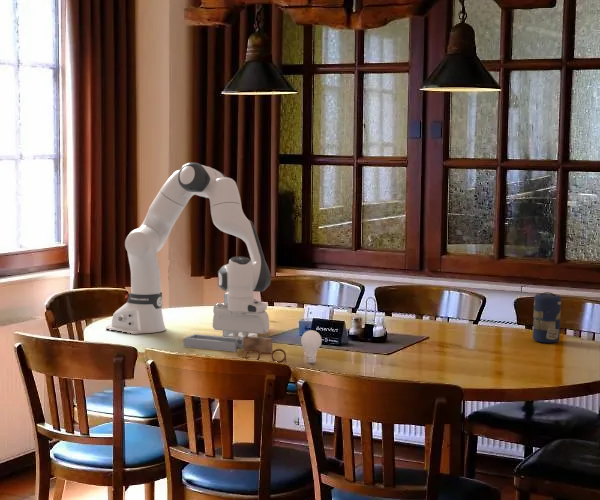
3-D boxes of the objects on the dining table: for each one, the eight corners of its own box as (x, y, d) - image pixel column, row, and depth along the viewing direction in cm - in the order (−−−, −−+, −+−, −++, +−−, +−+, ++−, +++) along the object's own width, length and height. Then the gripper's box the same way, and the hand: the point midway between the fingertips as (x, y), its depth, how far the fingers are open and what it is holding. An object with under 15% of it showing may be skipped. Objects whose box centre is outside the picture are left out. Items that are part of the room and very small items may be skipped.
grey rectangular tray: (183, 346, 357) (183, 338, 357) (194, 342, 364) (194, 334, 364) (235, 351, 349) (235, 343, 349) (245, 347, 357) (245, 338, 356)
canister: (537, 338, 377) (539, 289, 375) (563, 340, 372) (564, 291, 370) (529, 342, 369) (530, 292, 367) (555, 345, 364) (556, 295, 362)
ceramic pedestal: (227, 345, 360) (227, 335, 360) (237, 341, 367) (237, 331, 367) (247, 347, 357) (247, 337, 357) (257, 342, 364) (257, 333, 364)
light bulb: (296, 363, 332) (296, 330, 330) (311, 360, 336) (311, 327, 335) (311, 367, 327) (311, 333, 326) (325, 364, 332) (326, 330, 330)
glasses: (285, 363, 334) (285, 348, 334) (288, 372, 321) (288, 357, 321) (245, 363, 333) (245, 348, 333) (245, 373, 320) (245, 357, 320)
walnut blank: (243, 351, 350) (243, 338, 350) (248, 349, 354) (248, 336, 354) (267, 353, 347) (267, 340, 346) (272, 351, 351) (272, 338, 350)
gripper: (209, 304, 352) (209, 343, 354) (263, 308, 344) (263, 348, 346) (217, 301, 358) (218, 340, 360) (271, 305, 350) (271, 345, 352)
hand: (240, 344), depth 353 cm, fingers closed
